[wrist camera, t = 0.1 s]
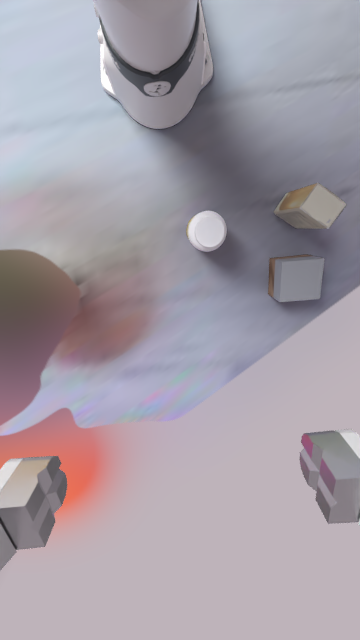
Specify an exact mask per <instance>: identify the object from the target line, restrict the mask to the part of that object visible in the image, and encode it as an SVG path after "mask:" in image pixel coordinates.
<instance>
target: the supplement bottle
mask: <svg viewBox="0 0 360 640" xmlns="http://www.w3.org/2000/svg"><path fill="white" fill-rule="evenodd" d="M226 234H227V227H226V223H225V221H224V219H223V218H222V217H221V216H220V215H219V214H218V213H216V212H213V211H203V212H200V213H198V214H196V215H195V216H194V217H192V218H191V220H190V221H189V223H188V225H187V237H188V239H189V241H190V242H191V244H192V245H193V246H194V247H195V248H197V249H198V250H200V251H204V252H209V251H213V250H215V249H217V248H219V247H220V246H221V245H222V243H223V242H224V240H225V238H226Z"/></svg>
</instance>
